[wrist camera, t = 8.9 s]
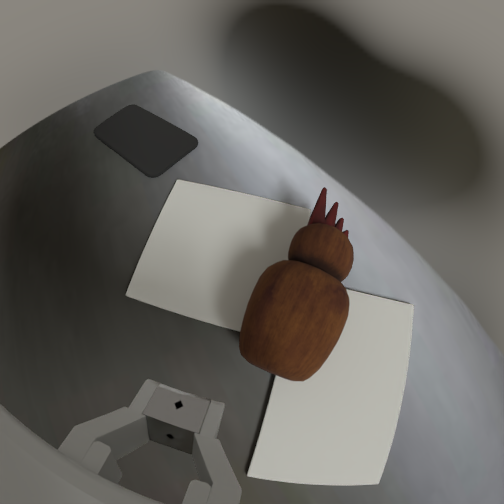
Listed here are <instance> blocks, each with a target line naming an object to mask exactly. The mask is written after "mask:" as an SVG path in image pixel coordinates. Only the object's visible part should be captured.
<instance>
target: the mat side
mask: <svg viewBox="0 0 504 504" xmlns="http://www.w3.org/2000/svg"><path fill="white" fill-rule="evenodd" d="M310 211H311V210H310V209H306V208H302V207H298V206H295V205H291V204H287V203H283V202H279V201H275V200H270V199H266V198H262V197H258V196H254V195H249V194H245V193H240V192H236V191H231V190H227V189H222V188H218V187H213V186H208V185H203V184H198V183H193V182H188V181H183V180H177V181H176V183H175V185H174V187H173V189H172V191H171V193H170V195H169V197H168V199H167V201H166V203H165V205H164V207H163V209H162V211H161V213H160V215H159V217H158V220H157V222H156V224H155V226H154V228H153V230H152V232H151V235H150V237H149V239H148V241H147V244H146V246H145V248H144V251H143V253H142V255H141V258H140V260H139V262H138V265H137V267H136V270H135V272H134V274H133V277H132V279H131V282H130V285H129V287H128V290H127V292H126V296H127V297H130V298H133V299H136V300H139V301H141V302H144V303H147V304H150V305H153V306H156V307H159V308H162V309H165V310H168V311H171V312H174V313H177V314H180V315H184V316H187V317H190V318H193V319H197V320H200V321H203V322H207V323H210V324H214V325H217V326H221V327H224V328H228V329H232V330H235V331H239V332H240V330H241V326H242V321H243V317H244V314H245V311H246V308H247V304H248V302H249V299H250V297H251V294H252V292H253V290H254V287H255V285H256V283H257V281H258V279H259V277H260V276H261V275H262V273H263V272H264V271H265V270H266V268H267V267H269V266H271V265H273V264H275V263H276V262H279V261H282V260H288V251H289V247H290V244H291V241H292V239H293V237H294V235H295V233H296V232H297V231H298V230H299V229H300V228H302V227H304V226H307V224H308V222H309V217H310Z"/></svg>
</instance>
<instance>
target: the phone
mask: <svg viewBox="0 0 504 504" xmlns="http://www.w3.org/2000/svg"><path fill="white" fill-rule="evenodd" d="M94 134H95V136H96V137H97V138H98V139H99V140H101V141H102V142H103V143H104V144H105V145H107V146H108V147H109V148H110V149H112V150H114V151H115V152H116V153H118V154H119V155H120V156H121V157H123V158H124V159H125V160H127V161H128V162H129V163H130V164H132V165H133V166H134V167H136V168H137V169H138V170H140V171H141V172H142V173H143V174H145V175H146V176H148V177H151V178H155V177H158V176H160V175H161V174H163V173H164V172H165V171H167V170H168V169H169V168H170V167H172V166H173V165H174V164H175V163H177V162H178V161H179V160H181V159H182V158H183V157H184V156H186V155H187V154H188V153H190V152H191V151H192V150H194V149H195V148H196V147H197V145H198V140H197V139H196V138H195V137H194V136H192V135H190V134H189V133H187V132H185V131H183V130H182V129H180V128H178V127H176V126H174V125H173V124H171V123H169V122H167V121H165V120H163V119H162V118H160V117H158V116H156V115H154V114H152V113H150V112H148V111H147V110H145V109H143V108H141V107H139V106H137V105H129V106H126V107H125V108H123V109H122V110H120V111H119V112H117V113H116V114H114V115H113V116H111V117H110V118H108V119H107V120H105V121H104V122H103V123H101V124H100V125H99V126H97V127H96V128H95V129H94Z"/></svg>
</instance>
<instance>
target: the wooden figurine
mask: <svg viewBox="0 0 504 504" xmlns="http://www.w3.org/2000/svg"><path fill="white" fill-rule="evenodd" d="M326 193H327V189H326V188H325V187H324V188H323V189H322V191H321V193H320V196H319V198H318V200H317V203H316V205H315V207H314V210H313V212H312V214H311V217H310V219H309V222H308V224H307V226H304V227H302V228H300V229H299V230H298V231H297V232H296V233H295V235H294V237H293V239H292V241H291V244H290V247H289V251H288V260H282V261H279V262H276V263H275V264H273V265H271V266H269V267H267V268H266V270H265V271H264V272H263V273H262V275H261V276H260V277H259V279H258V281H257V283H256V285H255V287H254V290H253V292H252V294H251V297H250V299H249V302H248V304H247V308H246V311H245V314H244V317H243V321H242V326H241V330H240V339H239V349H240V353H241V355H242V356H243V357H244V358H245V359H246V360H247V361H248V362H249V363H251V364H253V365H255V366H257V367H259V368H261V369H263V370H265V371H267V372H269V373H272V374H274V375H277V376H279V377H282V378H284V379H287V380H290V381H305V380H307V379H309V378H310V377H311V376H312V375H314V374H315V373H316V372H317V371H318V370H319V369H320V368H321V366H322V365H323V364H324V362H325V361H326V360H327V358H328V357H329V355H330V354H331V352H332V350H333V349H334V347H335V345H336V344H337V342H338V340H339V338H340V335H341V333H342V331H343V329H344V326H345V324H346V321H347V318H348V313H349V305H350V304H349V296H348V293H347V290H346V288H345V287H344V286H343V284H342V283H341V281H343V280H344V279H345V278H346V277H347V276H348V274H349V272H350V270H351V268H352V264H353V246H352V245H351V243H350V241H349V239H348V230H346V231H344V232H342V228H343V222H344V219H343V218H340V219H339V220H338V221H337V223H336V224H335V221H336V215H337V209H338V203H337V202H335V203H334V205H333V206H332V208H331V209H330V211H329V212H328V214H327V215H326V217H325V210H326Z"/></svg>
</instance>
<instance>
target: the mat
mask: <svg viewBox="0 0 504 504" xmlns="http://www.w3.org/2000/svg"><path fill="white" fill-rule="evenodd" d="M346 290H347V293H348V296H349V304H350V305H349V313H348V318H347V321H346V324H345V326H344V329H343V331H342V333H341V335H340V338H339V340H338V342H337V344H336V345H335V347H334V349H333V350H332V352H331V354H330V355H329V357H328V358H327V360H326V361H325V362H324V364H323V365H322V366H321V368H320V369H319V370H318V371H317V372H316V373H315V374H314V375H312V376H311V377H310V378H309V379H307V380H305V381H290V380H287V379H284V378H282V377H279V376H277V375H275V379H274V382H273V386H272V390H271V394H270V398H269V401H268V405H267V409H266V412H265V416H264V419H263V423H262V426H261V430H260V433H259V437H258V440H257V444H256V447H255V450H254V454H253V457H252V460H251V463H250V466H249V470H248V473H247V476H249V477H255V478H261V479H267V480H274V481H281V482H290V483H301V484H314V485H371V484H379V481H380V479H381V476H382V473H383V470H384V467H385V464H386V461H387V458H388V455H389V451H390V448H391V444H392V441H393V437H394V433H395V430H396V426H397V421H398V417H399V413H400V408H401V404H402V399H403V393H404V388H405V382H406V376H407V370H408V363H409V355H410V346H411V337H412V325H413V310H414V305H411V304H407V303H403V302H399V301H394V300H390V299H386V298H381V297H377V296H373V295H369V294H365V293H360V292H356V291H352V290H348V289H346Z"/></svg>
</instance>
